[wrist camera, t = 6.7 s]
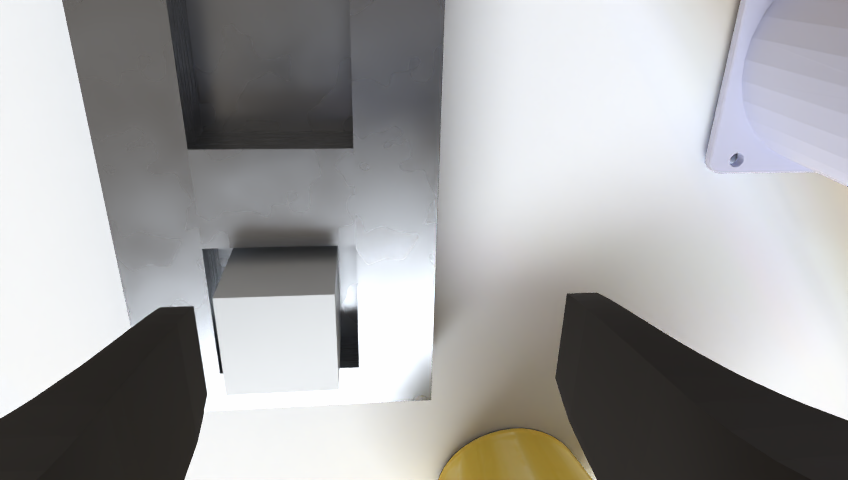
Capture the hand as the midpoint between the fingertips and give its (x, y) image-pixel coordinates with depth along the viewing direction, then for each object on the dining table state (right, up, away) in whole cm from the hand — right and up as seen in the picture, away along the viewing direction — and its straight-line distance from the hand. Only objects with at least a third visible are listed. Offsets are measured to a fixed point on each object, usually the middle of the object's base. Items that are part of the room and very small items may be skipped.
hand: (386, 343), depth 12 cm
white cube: (-4, 0, +10) cm, 11 cm away
